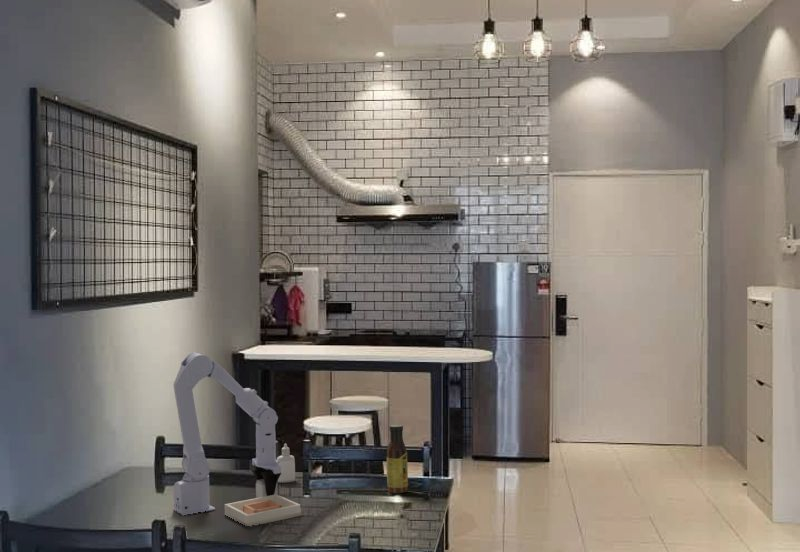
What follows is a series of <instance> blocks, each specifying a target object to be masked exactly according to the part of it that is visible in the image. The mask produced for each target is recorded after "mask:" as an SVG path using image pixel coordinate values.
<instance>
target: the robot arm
mask: <svg viewBox="0 0 800 552" xmlns="http://www.w3.org/2000/svg"><path fill="white" fill-rule="evenodd" d="M206 377H207V378H208V379H209V378H210V379H214V380H217V381H218V383H220V384H221V385H222V386H223V387H224V388H226V389H227V390H228V391H229V392H230V393H232V394H233V395H234V397H235V404H237V405H238V407H240V408H241V409H242V410H243V411H244V412H245V413H247V414H248V416H249V417H251V418H252V420H253V422H255V450H256V451H255V458H252V459H251V461H252V462H251V465H252V466H255V467H254V468H252V469H251V472H252V473H253V476H254V478H255V481H256V482H257V480H260V479H264V482H265V489H266V494H267V496H270V495H274V493H275V489H276V484H278V479H279V477H280V475H281V466H279V465H278V463H280V461H279V460H277V450H276V449H277V447H276V444H277V443H276V441H277V439H276V435H277V434H276V424H277V423H278V420H279V416H278V414H277V412H276V411H275V409H273V408H272V407H270V406H269V402H268V401H266V400H263V399H262V398H261V397H260V396H259V395H257V393H258V391H257V390H256V389H255V388H253V389H252V388H250V387H245V388H243V386H242V385H240V384H239V382H238V381H236V379H235V378H234V377H233V376H232V375H231V374H230V373H229V372H228V371H226V369H225V368H224V367H223V366H221V365H220V364H218V363H217V362H216V361H214V360H213V359H211V358H210V357H209V356H207V355H205V354H202V353H200V352H195V351H194V352H191V353H190V354H188V355H187V356H186V357H185V358H184V359H183V360H182V361H181V363H180V367H179V370H178V373H177V375H176V378H175V380H174V382H173V391H174V397H175V402H176V408H177V414H178V419H179V427H180V432H181V438H182V443H183V449H182V453H183V456H182V461H181V467H182V470H183V471H185V473H184V474H183V476H182V479H181V480H179V481H176V482H175V483H174V485H173V508H172V510H173V511H174V510H175V512H176V511H177V512H176V513H178V512H179V513H181V514H182V515H181V514H180V515H181V516H183V515H186V514H191V515H194V514H193V513H196V514H199V513H198V512H201V513H205V511H206V512H211V511H215V510H216V507H214V506H212V505H211V504H210V503H211V502H210V501H211V498H210V496H211V495H210V475H209V474H210V471H211V463H210V462H209V461H208V459H207V458H206V455H205V450H204V447H203V445H202V444H203V443H202V440H201V433H200V428H199V423H198V416H197V410H196V404H195V399H194V398H195V397H194V392H193V389H195V387H196V386H197V384H198V383H199V382H200V381H201V380H203V379H204V378H206ZM179 513H178V514H179ZM186 516H187V515H186Z"/></svg>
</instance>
